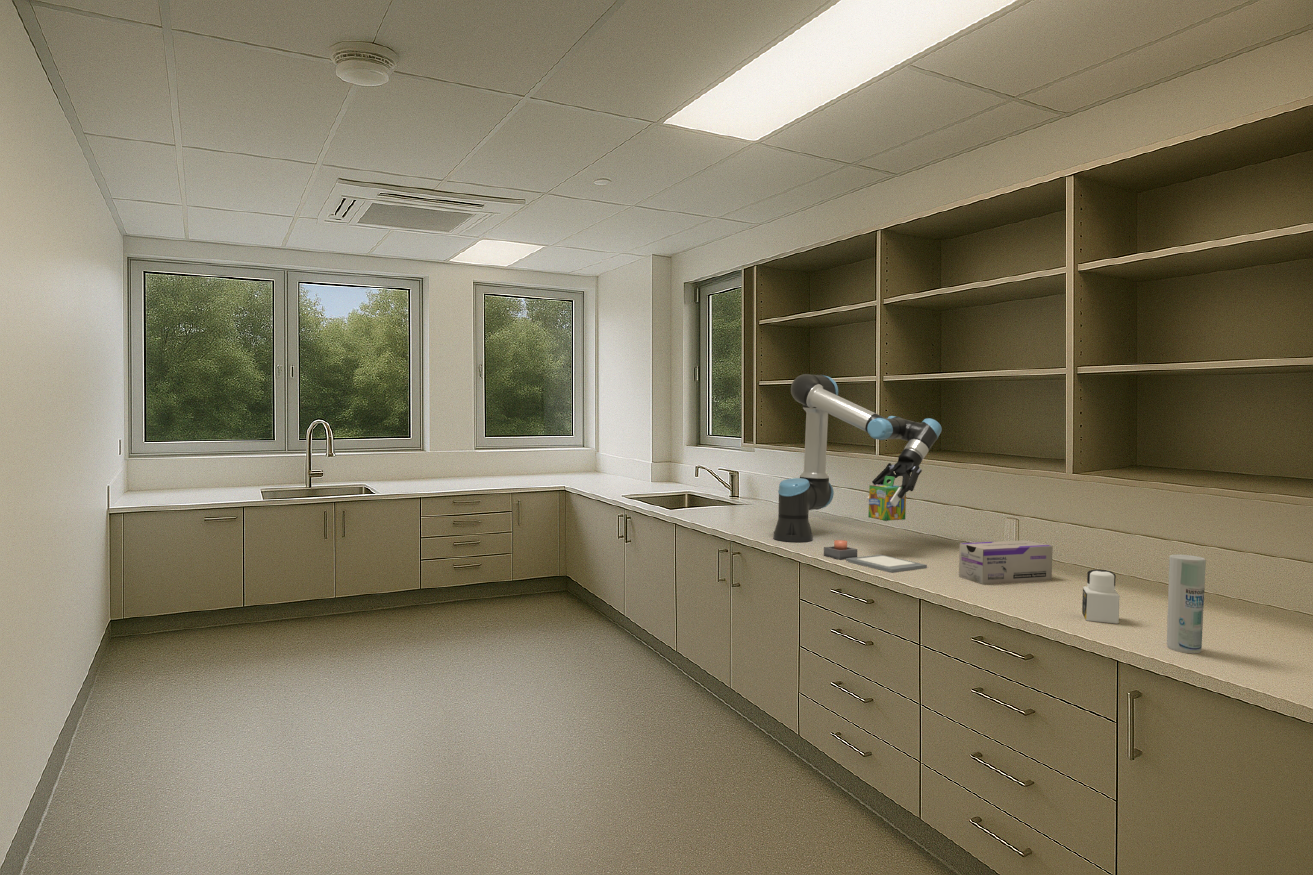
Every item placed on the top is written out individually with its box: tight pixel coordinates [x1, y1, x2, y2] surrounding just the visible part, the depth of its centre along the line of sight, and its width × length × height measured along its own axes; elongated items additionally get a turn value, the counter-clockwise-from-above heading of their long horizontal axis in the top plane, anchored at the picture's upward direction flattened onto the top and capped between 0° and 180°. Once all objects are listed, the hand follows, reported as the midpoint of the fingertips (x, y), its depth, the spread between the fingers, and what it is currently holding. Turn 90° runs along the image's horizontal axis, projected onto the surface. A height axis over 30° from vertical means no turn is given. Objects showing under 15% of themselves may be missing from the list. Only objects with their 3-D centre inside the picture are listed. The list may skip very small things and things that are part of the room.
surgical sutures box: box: [958, 539, 1054, 586], centre depth 238 cm, size 25×11×11 cm, turn 107°
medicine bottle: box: [1081, 568, 1121, 625], centre depth 193 cm, size 7×7×12 cm
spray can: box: [1166, 554, 1207, 654], centre depth 168 cm, size 6×6×20 cm
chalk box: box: [867, 476, 907, 522], centre depth 271 cm, size 9×9×15 cm
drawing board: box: [845, 554, 928, 573], centre depth 257 cm, size 20×16×1 cm
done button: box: [833, 539, 848, 550], centre depth 270 cm, size 4×4×3 cm
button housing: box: [823, 545, 858, 561], centre depth 270 cm, size 8×8×3 cm
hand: (880, 502), depth 269 cm, fingers closed on chalk box, 10 cm apart
